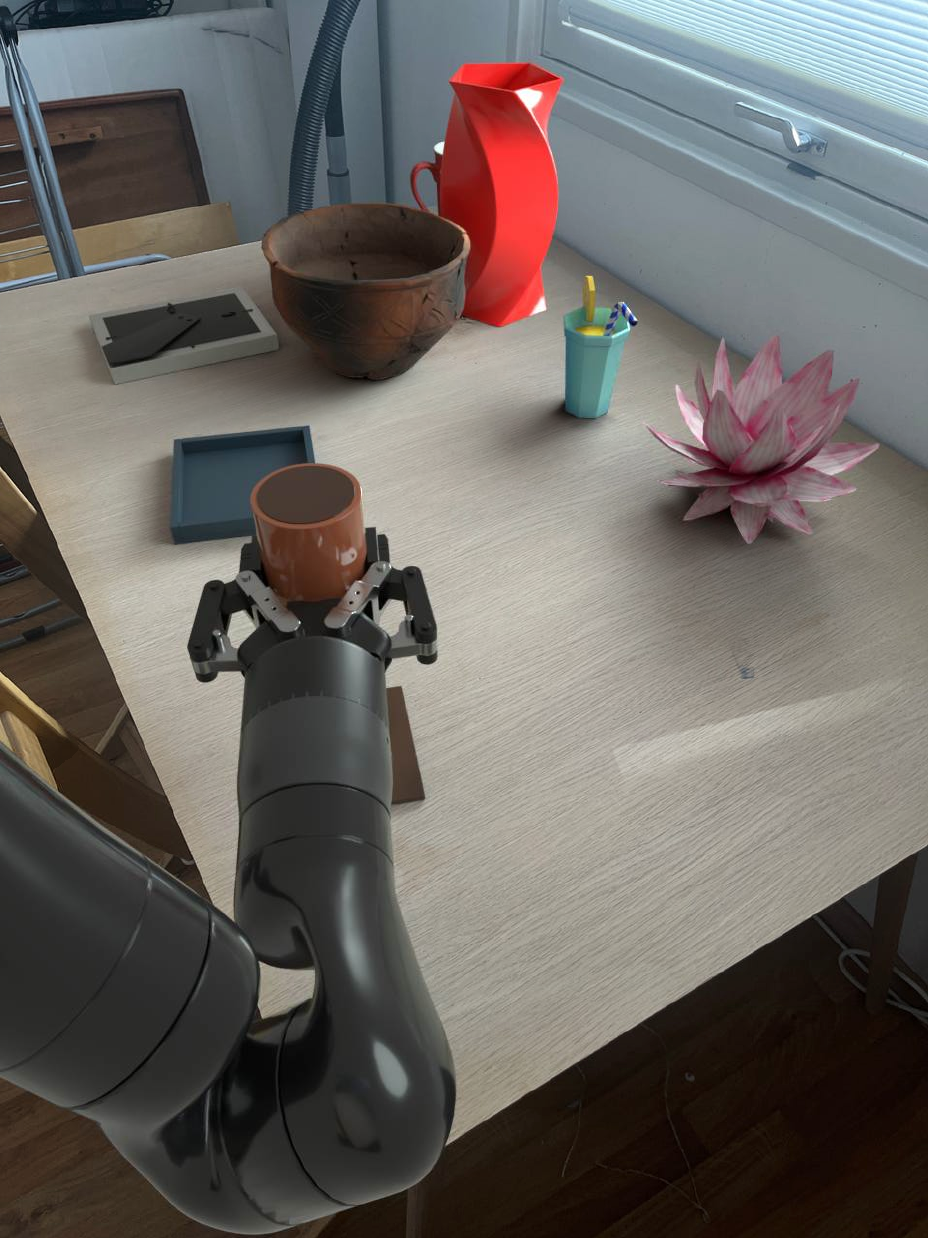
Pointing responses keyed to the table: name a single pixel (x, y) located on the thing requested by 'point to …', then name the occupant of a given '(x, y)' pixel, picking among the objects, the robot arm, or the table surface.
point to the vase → (501, 185)
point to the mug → (434, 169)
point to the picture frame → (181, 334)
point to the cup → (593, 353)
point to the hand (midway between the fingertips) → (316, 541)
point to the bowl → (368, 283)
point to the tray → (228, 479)
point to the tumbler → (310, 531)
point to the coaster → (403, 751)
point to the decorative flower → (766, 441)
